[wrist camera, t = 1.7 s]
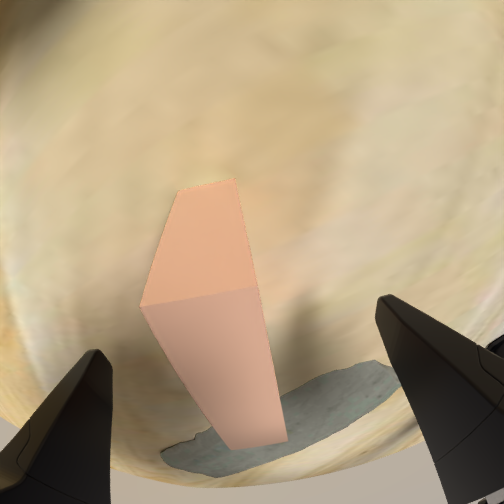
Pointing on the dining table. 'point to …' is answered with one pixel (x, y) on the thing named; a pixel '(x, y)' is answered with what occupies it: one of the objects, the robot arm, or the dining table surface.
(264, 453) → the stone slab
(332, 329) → the dining table surface
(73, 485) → the robot arm
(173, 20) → the dining table surface
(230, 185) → the block
